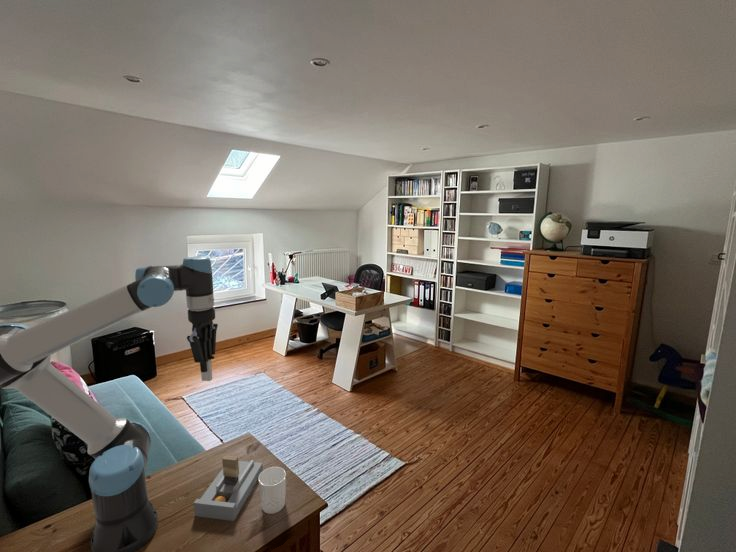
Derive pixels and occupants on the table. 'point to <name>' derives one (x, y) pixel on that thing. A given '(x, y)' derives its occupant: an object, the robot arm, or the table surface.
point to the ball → (220, 499)
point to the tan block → (230, 469)
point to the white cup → (272, 489)
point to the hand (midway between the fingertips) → (207, 379)
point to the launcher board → (228, 493)
